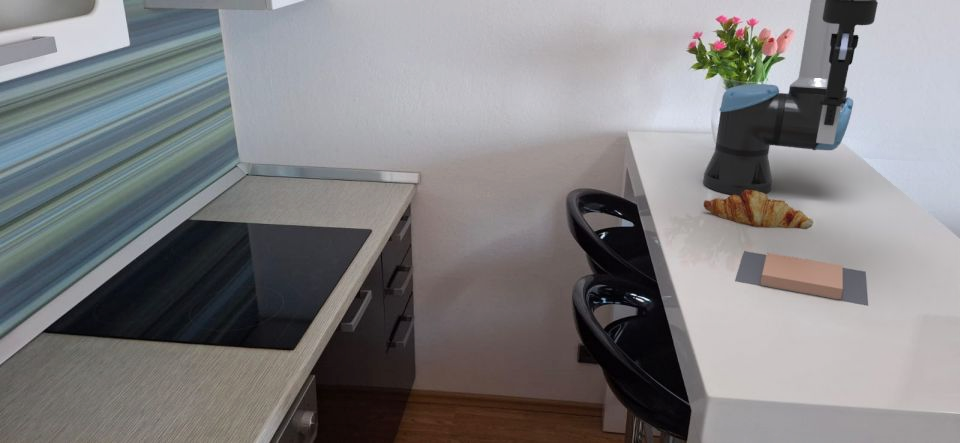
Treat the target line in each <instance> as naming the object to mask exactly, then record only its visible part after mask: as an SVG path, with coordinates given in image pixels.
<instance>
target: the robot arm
mask: <svg viewBox="0 0 960 443" xmlns="http://www.w3.org/2000/svg"><path fill="white" fill-rule="evenodd" d="M878 4H879V2H878V1H877V0H810V5H809V10H808V17H807V22H806V29H805V36H804V40H803V47H802V48H803V49H802V54H801V60H800V67H799V74H798V78H797V79H796V80H794V81H793V82H792V83H791V84H789V90H788V92H787V93H783V92H780V89H779V86H777V85H775V84H767V83H754V84H753V83H751V84H742V85H741V84H740V85H736V86H732V87H730V88H728V89H727V90H725V92H723V95H722V99H721V104H720V107H719V112H720V113H719V120H718V128H717V134H716V142H715V147H714V148H715V149H714V152H713V153H712V156H711V158H710V160H709V162H708V165H707V166H706V168H705V171H704V173H703V180H702V183H703V186H706V187H707V188H709V189H711V190H713V191H716V192H719V193H723V194H729V195H738V196H740V194H742V192H743V191H745V190H752V191H758V192H762V193H764V194H766V195H767V194H768V193H769V192H771V190H772V185H773V176H772V172H771V165H770V161H769V152H770V146H777V147H785V148H786V147H787V148H796V149H803V150H804V149H805V150H812V151H818V150H819V151H835V149H837V148H838V147H839V146H840V145H841V143H842V141H843V139H844V137H845V135H846V134H845V133H846V131H847V128H848V126H849V124H850V122H849V121H850V119H851V115H852V112H853V107H854V100H853V99H852V98H851V97H849V96H848V97H847V94H848V88H847V87H846V83H847V82H846V80H847V77H848V73H849V72H848V71H849V66H850V65H852V64H853V59H854V55H855V49H856V48H857V46H858V44H859V35H858V34H855V28H856V26H868V25H872V24H874V22H875V19H876V13H877V9H878V8H877V7H878Z"/></svg>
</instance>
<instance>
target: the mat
mask: <svg viewBox="0 0 960 443" xmlns="http://www.w3.org/2000/svg"><path fill="white" fill-rule="evenodd" d="M766 255H767V254H765V253H764V254H763V253H760V252H759V253H758V252H753V251H746V250H743V253H742V257H741V260H740V264H739V266H738V268H737V269H738V270H737V273H736V276H735V279H734V282H737V283H742V284H748V285H755V286H758V287H764V288H768V289H769V288H770V289H776V290H781V291H784V292H785V291H787V292H792V293H797V294H798V293H799V294H802V295H803V294H804V295H808V296H813V297H819V298H824V299H830V300H834V301H841V302H846V303H852V304H857V305H863V306H867V307H868V306H869V299H868V297H869V296H868V283H867V271H865V270H859V269H852V268H846V267H842V268H843V290H842V294H841V299H839V300H838V299H833V298H827V297H822V296H816V295H811V294H805V293H800V292H795V291H789V290H784V289H778V288H773V287H767V286H762V285H760V284H761V278H762V273H763V268H764V264H765V260H766Z"/></svg>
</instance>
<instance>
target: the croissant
mask: <svg viewBox="0 0 960 443" xmlns="http://www.w3.org/2000/svg"><path fill="white" fill-rule="evenodd" d="M703 207H704V209H705V210H706V211H707V212H709V213H710V214H712V215H715V216H716V217H718V218H722V219H725V220H728V221H732V222H734V223H736V224H744V225H749V226H754V227H760V228H785V229H788V228H796V229H802V230H807V229H809V228H811V227H812V226H813V224H814V220H813V218H809V217H808V216H807V215H806V214H805V213H804V212H803V211H802V210H800V209H799V210H796V209H794V208H793V207H792V206H790V205H789V204H788V203H787V202H786V201H785V200H780V199H779V200H778V199H773V198H771V199H770V197H769V196H768V195H767V193H766V194H764V193H762V192H758V191H752V190H745V191H743V192H742V194H740V195H734V194H729V196H728V197H727V198H725V199H724V198H719V197H717V198H714V199H712V200H708V199H707V200H704V201H703Z"/></svg>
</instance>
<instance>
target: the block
mask: <svg viewBox="0 0 960 443" xmlns="http://www.w3.org/2000/svg"><path fill="white" fill-rule="evenodd" d="M765 255H766V260H765V264H764V268H763V273H762V278H761V284H760V285H762V286H761V287H764V286H767V287H766V288H769V287H773V288H772V289H774V288H778V289H777V290H780V289H784V290H783V291H785V290H789V291H788V292H791V291H795V292H794V293H796V292H800V293H799V294H802V293H805V294H804V295H807V294H811V295H810V296H812V295H816V296H815V297H818V296H822V297H821V298H823V297H827V298H826V299H829V298H833V299H832V300H834V299H838V300H837V301H840V300H839V299H841V294H842V290H843V268H844V267H843V265H841V264H837V263H830V262H825V261H818V260H814V259H813V260H811V259H807V258H799V257H796V256H795V257H794V256H787V255H784V254H776V253H771V252H766V254H765Z"/></svg>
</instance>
